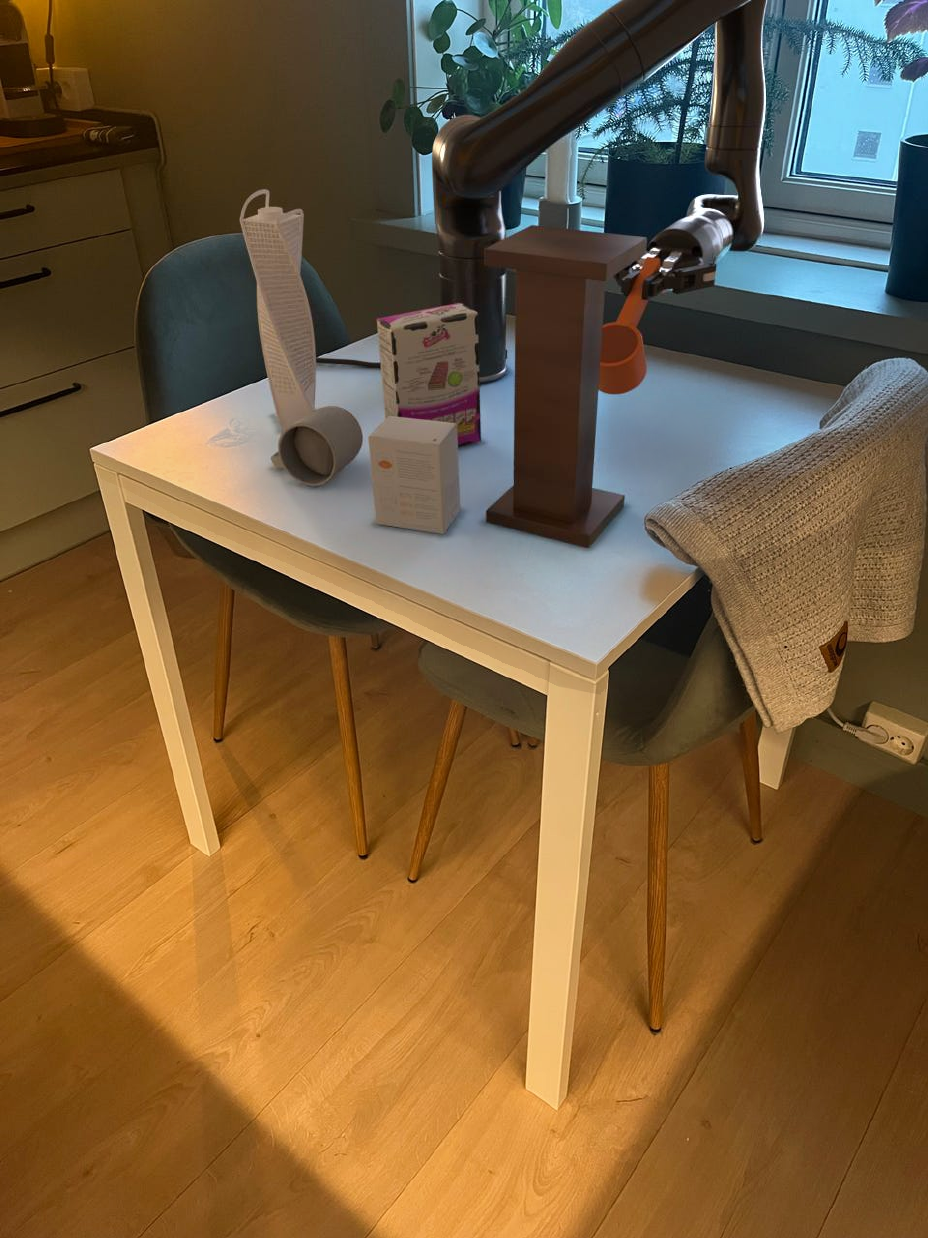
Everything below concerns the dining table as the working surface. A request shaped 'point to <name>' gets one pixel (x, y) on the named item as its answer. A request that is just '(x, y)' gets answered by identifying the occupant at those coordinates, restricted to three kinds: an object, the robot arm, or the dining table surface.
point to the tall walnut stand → (558, 378)
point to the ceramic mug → (319, 445)
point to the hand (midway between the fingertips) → (636, 289)
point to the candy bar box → (433, 367)
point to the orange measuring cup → (626, 341)
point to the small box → (415, 473)
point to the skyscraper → (282, 308)
